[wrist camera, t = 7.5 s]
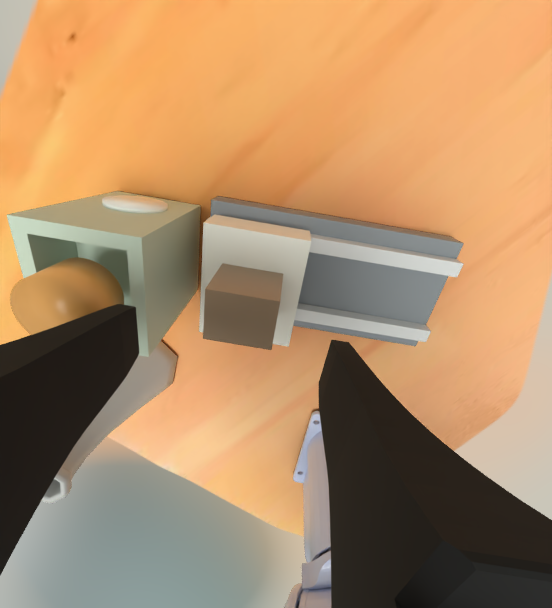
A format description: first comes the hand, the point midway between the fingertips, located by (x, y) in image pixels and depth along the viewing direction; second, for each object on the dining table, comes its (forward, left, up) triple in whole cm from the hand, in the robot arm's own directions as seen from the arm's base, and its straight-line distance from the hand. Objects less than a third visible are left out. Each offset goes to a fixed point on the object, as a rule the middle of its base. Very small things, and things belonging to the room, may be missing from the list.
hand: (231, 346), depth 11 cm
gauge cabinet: (0, +7, -9) cm, 11 cm away
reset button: (0, +6, -2) cm, 7 cm away
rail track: (0, -4, -9) cm, 10 cm away
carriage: (0, 0, -7) cm, 7 cm away
